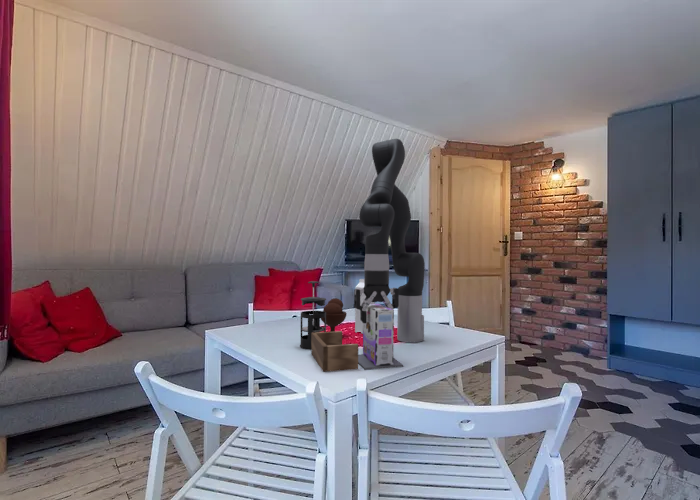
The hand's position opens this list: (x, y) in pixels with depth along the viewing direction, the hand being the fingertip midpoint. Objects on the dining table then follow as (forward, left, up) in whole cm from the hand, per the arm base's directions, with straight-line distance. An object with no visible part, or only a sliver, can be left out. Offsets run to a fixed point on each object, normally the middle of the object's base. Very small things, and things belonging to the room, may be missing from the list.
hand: (376, 322), depth 121 cm
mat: (0, 0, -12) cm, 12 cm away
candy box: (0, 0, -12) cm, 12 cm away
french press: (+15, -24, -12) cm, 31 cm away
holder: (+12, -4, -12) cm, 18 cm away
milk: (-10, -42, -12) cm, 45 cm away
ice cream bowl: (+5, -37, -12) cm, 39 cm away
